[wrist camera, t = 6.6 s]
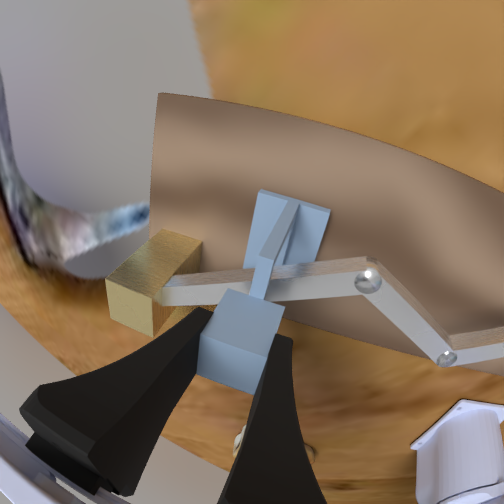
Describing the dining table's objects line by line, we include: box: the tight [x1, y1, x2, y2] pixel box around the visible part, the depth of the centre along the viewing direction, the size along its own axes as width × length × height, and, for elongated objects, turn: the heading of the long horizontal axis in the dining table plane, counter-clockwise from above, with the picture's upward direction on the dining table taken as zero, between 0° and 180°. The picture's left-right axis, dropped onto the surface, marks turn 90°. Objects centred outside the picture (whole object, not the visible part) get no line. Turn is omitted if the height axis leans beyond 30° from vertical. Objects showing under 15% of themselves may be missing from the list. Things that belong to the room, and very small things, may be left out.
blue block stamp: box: [196, 189, 331, 395], centre depth 15 cm, size 4×6×10 cm, turn 170°
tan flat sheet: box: [149, 93, 504, 376], centre depth 18 cm, size 13×32×1 cm, turn 80°
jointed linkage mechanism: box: [105, 229, 504, 367], centre depth 15 cm, size 5×32×6 cm, turn 92°
